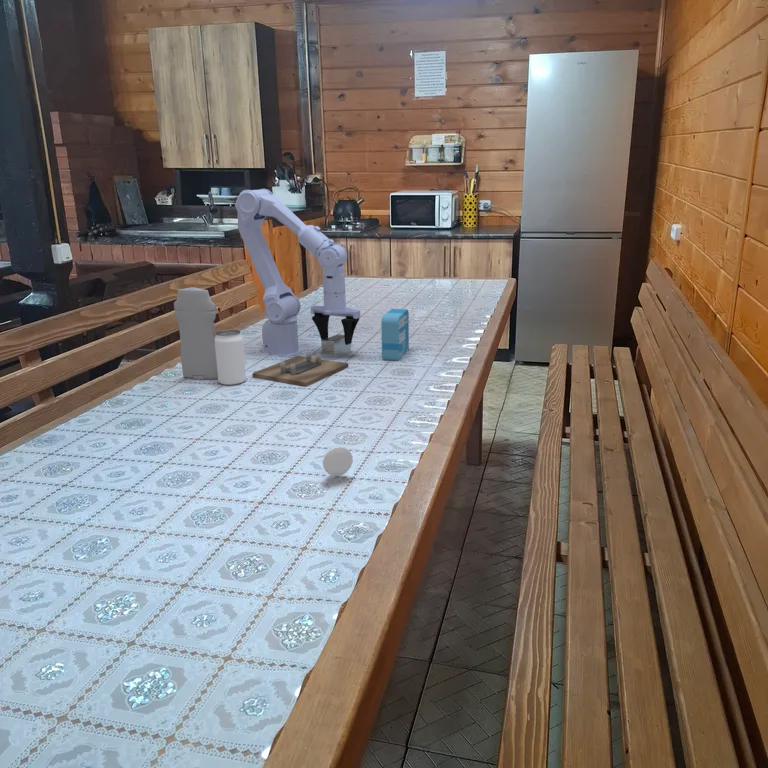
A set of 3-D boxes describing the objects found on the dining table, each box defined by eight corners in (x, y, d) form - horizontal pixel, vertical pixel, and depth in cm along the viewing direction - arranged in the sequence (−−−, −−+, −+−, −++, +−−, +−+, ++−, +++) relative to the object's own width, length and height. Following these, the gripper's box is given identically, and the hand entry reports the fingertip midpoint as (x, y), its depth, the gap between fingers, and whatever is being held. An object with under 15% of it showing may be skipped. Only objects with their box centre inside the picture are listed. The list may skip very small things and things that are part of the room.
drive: (321, 358, 179) (321, 339, 178) (338, 351, 186) (338, 333, 184) (334, 360, 177) (333, 341, 176) (350, 353, 184) (350, 335, 182)
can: (251, 378, 162) (247, 330, 158) (237, 386, 156) (232, 336, 153) (227, 376, 164) (223, 328, 160) (213, 384, 158) (208, 334, 155)
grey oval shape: (325, 479, 109) (323, 451, 108) (319, 472, 112) (318, 444, 110) (353, 474, 111) (353, 446, 109) (347, 467, 114) (346, 439, 112)
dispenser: (177, 378, 163) (167, 288, 156) (185, 373, 167) (176, 285, 160) (218, 381, 161) (209, 289, 154) (225, 376, 165) (217, 286, 158)
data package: (398, 363, 174) (398, 317, 170) (381, 362, 175) (381, 316, 171) (408, 351, 185) (408, 308, 181) (392, 350, 186) (392, 307, 182)
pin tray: (252, 377, 163) (251, 363, 162) (297, 359, 178) (297, 346, 177) (305, 386, 156) (305, 372, 155) (348, 367, 170) (348, 353, 169)
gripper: (302, 292, 176) (305, 342, 180) (349, 296, 169) (351, 348, 173) (318, 288, 182) (320, 337, 186) (364, 292, 175) (365, 342, 179)
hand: (336, 342), depth 180 cm, fingers open, 7 cm apart
